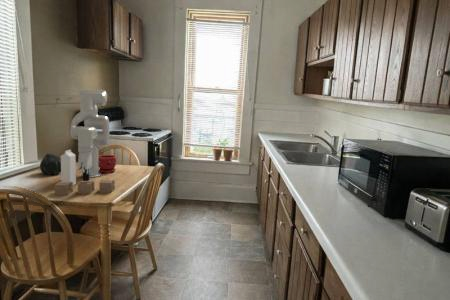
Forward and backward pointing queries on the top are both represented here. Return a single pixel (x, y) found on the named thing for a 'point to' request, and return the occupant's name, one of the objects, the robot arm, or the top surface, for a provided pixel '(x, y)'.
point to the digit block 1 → (63, 188)
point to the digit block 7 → (107, 186)
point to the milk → (68, 167)
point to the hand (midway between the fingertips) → (86, 180)
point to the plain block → (86, 187)
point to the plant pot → (107, 163)
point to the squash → (50, 164)
